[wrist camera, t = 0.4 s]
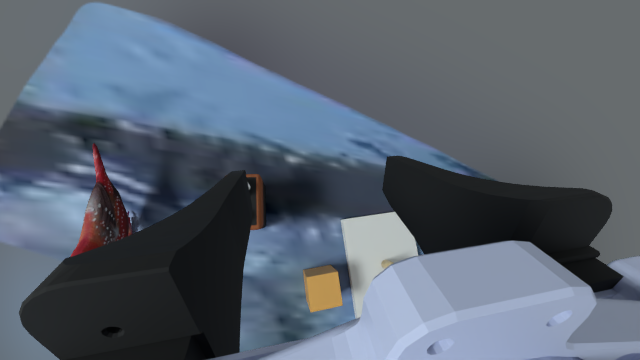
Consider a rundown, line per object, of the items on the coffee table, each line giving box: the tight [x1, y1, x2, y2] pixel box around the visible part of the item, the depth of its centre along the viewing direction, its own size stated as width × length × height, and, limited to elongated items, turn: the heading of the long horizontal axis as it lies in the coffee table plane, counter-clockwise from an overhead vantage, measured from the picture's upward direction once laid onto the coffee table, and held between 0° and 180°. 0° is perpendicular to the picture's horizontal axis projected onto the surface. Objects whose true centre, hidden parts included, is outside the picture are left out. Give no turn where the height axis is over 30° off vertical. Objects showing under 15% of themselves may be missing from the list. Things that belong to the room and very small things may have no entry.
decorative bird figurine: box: [71, 143, 132, 257], centre depth 28 cm, size 3×18×10 cm, turn 11°
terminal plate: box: [341, 212, 418, 319], centre depth 36 cm, size 16×12×4 cm
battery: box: [226, 174, 266, 230], centre depth 31 cm, size 4×7×10 cm, turn 3°
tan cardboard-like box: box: [303, 265, 343, 312], centre depth 33 cm, size 4×4×5 cm
